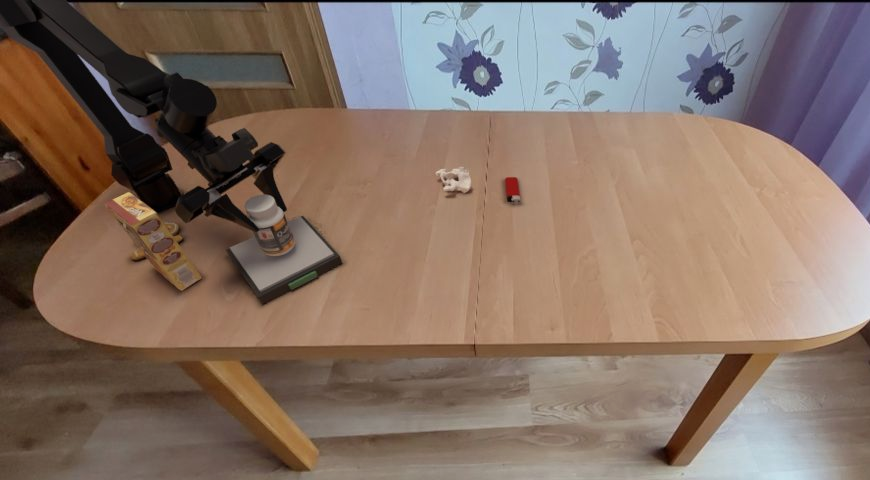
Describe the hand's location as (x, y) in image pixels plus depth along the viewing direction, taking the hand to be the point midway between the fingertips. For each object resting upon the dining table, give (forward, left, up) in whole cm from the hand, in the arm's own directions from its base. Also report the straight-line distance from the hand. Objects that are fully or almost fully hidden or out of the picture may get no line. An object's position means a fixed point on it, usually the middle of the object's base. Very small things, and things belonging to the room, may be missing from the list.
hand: (272, 221), depth 78 cm
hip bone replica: (+38, -1, -10) cm, 39 cm away
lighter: (+46, -11, -10) cm, 48 cm away
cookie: (-16, +21, -10) cm, 29 cm away
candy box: (-16, +10, -10) cm, 22 cm away
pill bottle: (0, +1, -7) cm, 7 cm away
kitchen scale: (0, +1, -10) cm, 10 cm away
